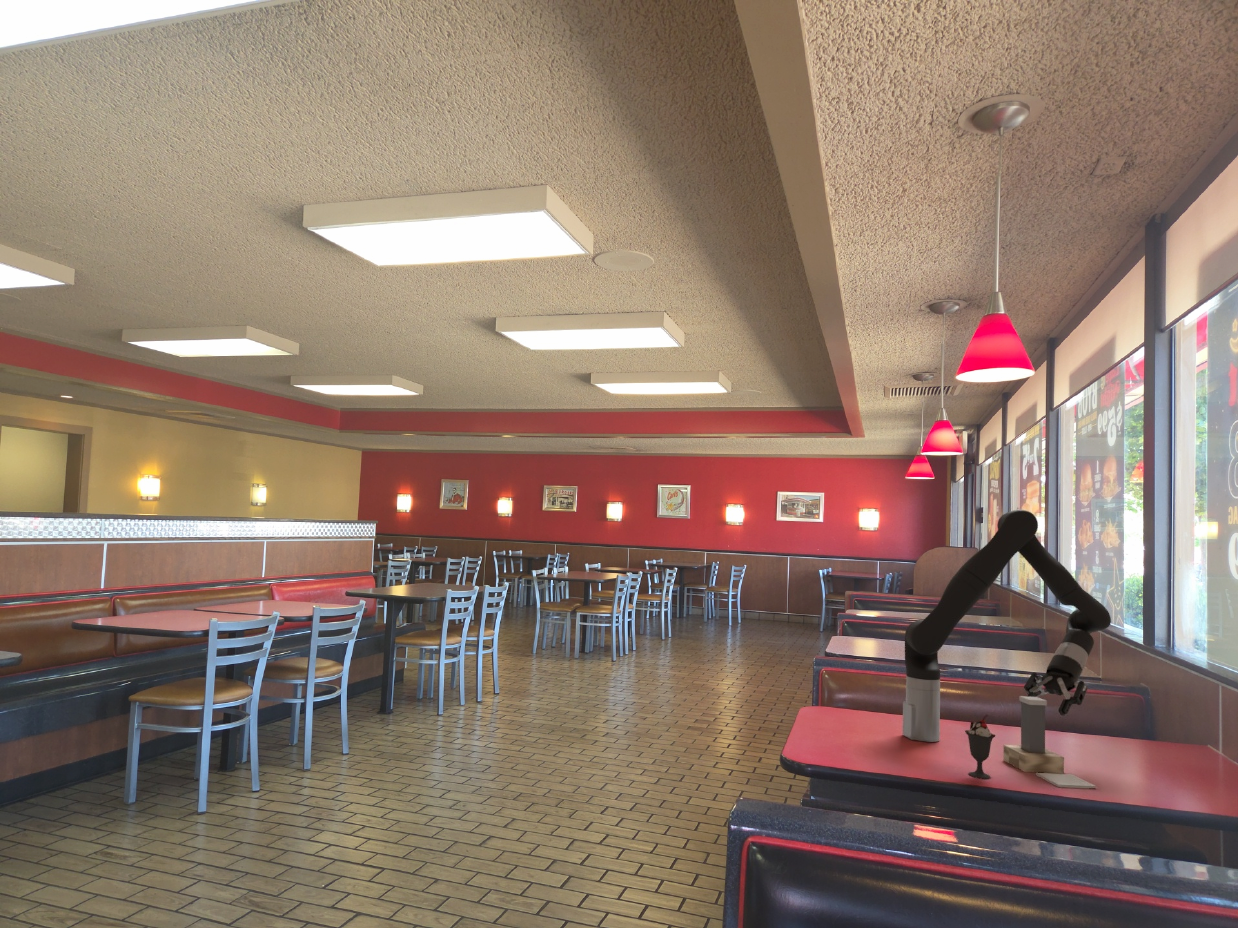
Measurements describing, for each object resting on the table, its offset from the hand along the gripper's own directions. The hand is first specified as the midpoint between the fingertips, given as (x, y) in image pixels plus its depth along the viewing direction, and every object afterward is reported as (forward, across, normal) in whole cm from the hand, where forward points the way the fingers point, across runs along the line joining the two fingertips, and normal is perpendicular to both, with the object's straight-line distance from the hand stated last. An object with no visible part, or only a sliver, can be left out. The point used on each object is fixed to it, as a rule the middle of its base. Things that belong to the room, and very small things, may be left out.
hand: (1044, 709), depth 202 cm
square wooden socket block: (+14, 0, +6) cm, 15 cm away
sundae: (+29, -1, -9) cm, 30 cm away
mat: (+17, +11, +2) cm, 21 cm away
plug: (+14, 0, +6) cm, 15 cm away
